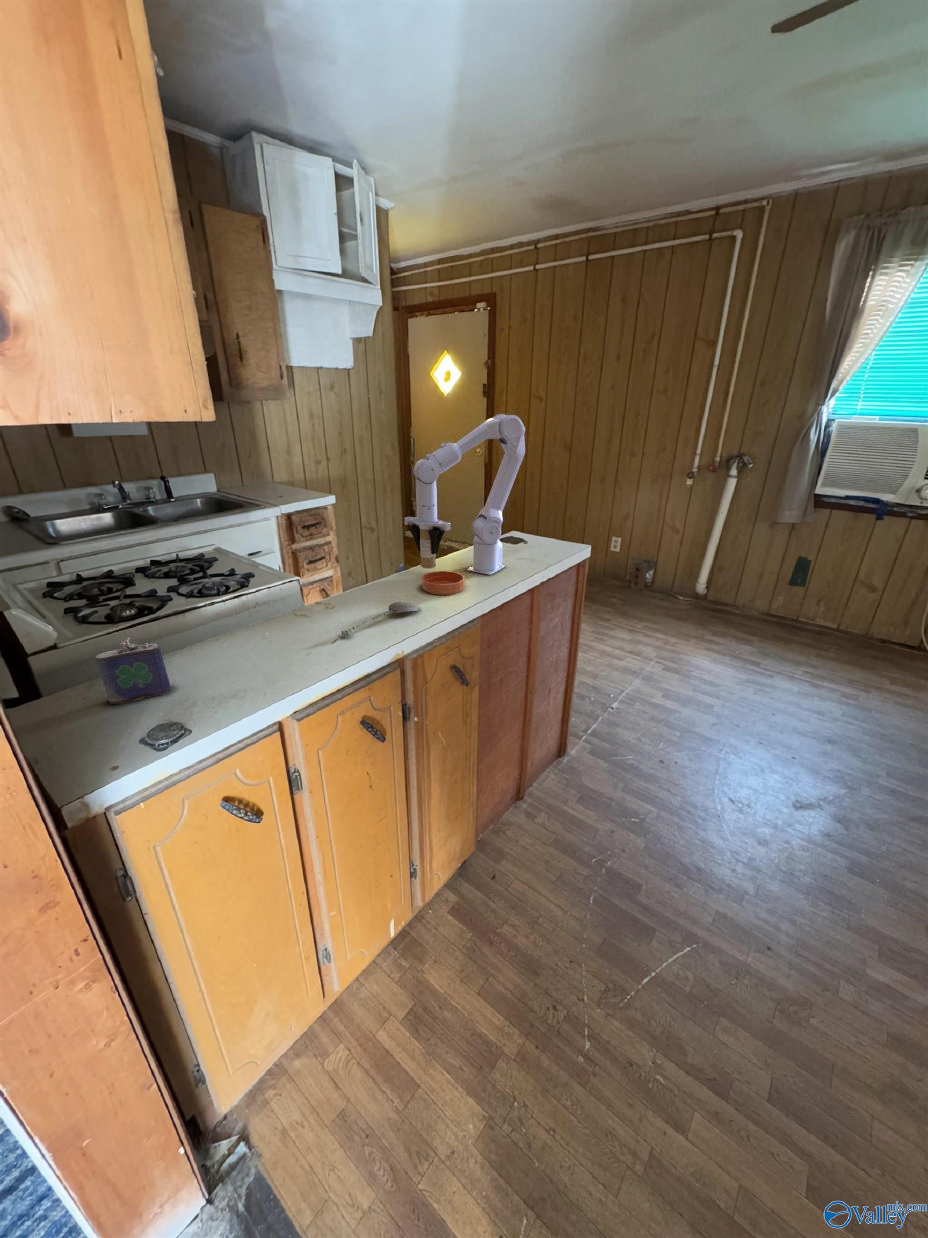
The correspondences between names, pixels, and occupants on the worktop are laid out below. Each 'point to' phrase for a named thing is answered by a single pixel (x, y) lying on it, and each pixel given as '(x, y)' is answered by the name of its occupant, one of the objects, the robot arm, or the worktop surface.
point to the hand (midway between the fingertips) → (427, 551)
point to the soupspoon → (393, 608)
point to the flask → (133, 672)
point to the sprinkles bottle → (426, 548)
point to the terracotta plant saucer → (443, 582)
